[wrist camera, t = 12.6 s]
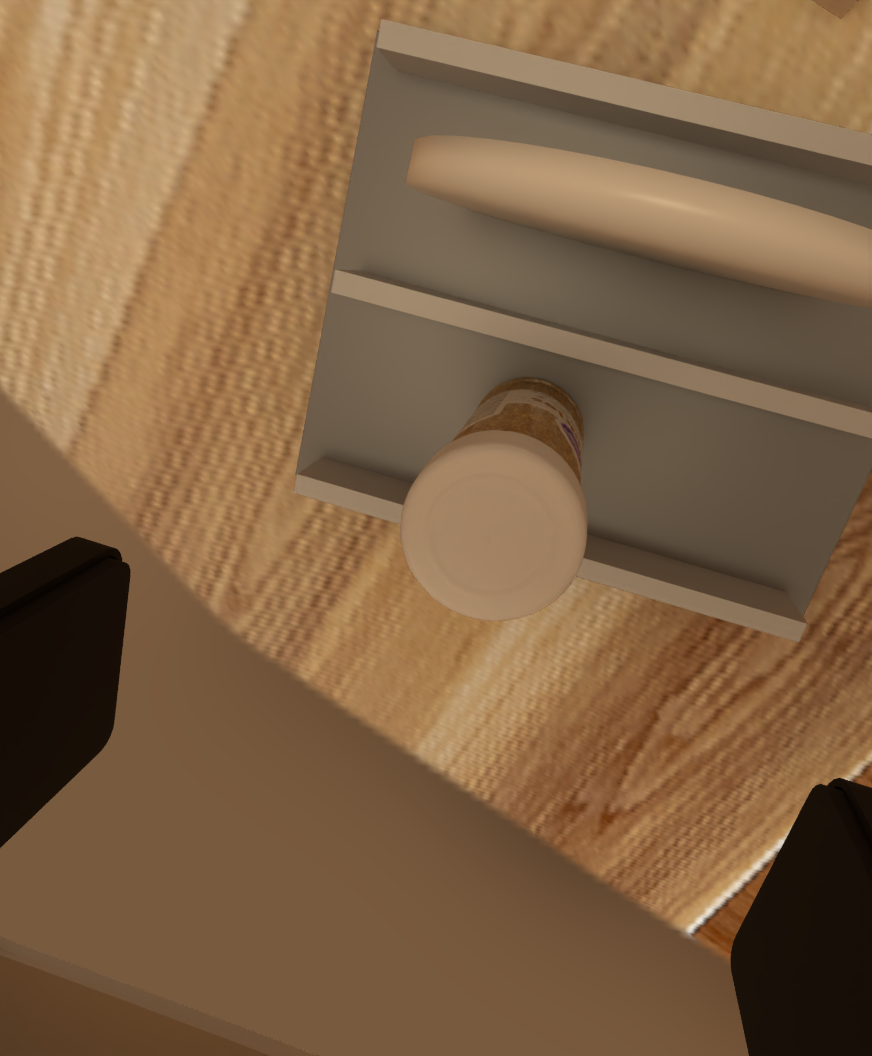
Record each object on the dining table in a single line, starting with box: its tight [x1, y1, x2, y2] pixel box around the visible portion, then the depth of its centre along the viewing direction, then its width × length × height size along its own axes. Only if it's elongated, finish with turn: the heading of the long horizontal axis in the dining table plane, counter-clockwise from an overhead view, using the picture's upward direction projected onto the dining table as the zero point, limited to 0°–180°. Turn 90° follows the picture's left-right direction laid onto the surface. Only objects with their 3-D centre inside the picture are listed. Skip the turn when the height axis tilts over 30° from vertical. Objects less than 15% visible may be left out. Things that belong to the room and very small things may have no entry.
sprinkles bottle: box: [400, 377, 588, 621], centre depth 24 cm, size 5×5×13 cm
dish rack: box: [294, 19, 872, 642], centre depth 23 cm, size 22×17×15 cm
